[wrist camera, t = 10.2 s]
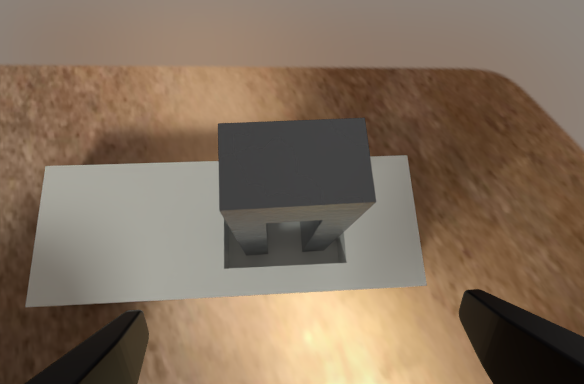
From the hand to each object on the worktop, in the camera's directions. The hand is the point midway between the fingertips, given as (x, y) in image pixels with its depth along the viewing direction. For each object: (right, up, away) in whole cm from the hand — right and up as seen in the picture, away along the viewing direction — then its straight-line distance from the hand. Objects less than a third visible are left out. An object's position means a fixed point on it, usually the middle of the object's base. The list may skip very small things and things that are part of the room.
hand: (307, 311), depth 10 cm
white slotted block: (-4, +1, +14) cm, 14 cm away
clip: (-1, +1, +14) cm, 14 cm away
